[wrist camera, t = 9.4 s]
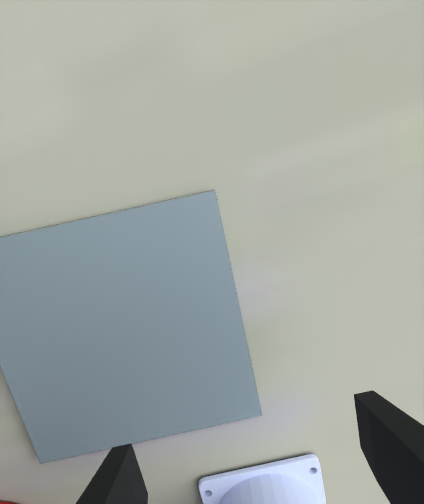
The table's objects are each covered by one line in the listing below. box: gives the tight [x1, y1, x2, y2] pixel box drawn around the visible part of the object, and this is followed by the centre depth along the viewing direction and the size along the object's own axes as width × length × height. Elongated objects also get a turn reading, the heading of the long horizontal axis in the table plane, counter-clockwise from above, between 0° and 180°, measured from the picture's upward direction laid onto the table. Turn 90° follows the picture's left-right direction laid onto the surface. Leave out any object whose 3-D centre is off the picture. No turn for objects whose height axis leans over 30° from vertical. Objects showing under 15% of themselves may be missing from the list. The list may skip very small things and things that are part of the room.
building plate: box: [0, 190, 262, 464], centre depth 21 cm, size 14×14×1 cm
